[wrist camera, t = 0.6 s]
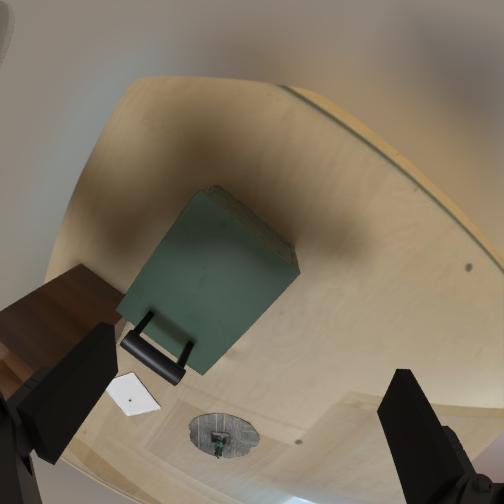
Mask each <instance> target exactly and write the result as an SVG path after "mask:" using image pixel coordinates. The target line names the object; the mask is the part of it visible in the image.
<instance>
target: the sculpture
mask: <svg viewBox="0 0 504 504" xmlns="http://www.w3.org/2000/svg"><path fill="white" fill-rule="evenodd" d="M189 429H190V430H191V433H190V439H191V441H192V442H193V444H194V445H195V446H196V447H197V448H198V449H199V450H201V451H203V452H205V453H208V454H210V455H212V456H216V457H217V458H218V459H219V457H224V458H235V457H240V456H244V455H246V454H248V453H249V451H250V448H251V447H255V446H257V445H258V443H259V435H258V434H257V432H256V431H255V430H254V429H253V427H252V426H251V425H250V424H249V423H247V422H245V421H243V420H242V419H239V418H236V417H233V416H231V415H227V414H220V413H213V414H207V415H202V416H200V417H197V418H194V419H193V421H192V422H191V424H190V425H189Z"/></svg>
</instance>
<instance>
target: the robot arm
mask: <svg viewBox="0 0 504 504" xmlns="http://www.w3.org/2000/svg"><path fill="white" fill-rule="evenodd" d="M117 373H118V364H117V353H116V340H115V325H112V324H108V323H104V322H100V323H98V324H97V325H96V326H95V327H94V328H93V329H92V330H91V331H90V332H89V333H88V334H87V335H86V336H85V337H84V338H83V339H82V340H81V341H80V342H79V343H78V344H77V345H76V346H75V347H74V348H73V349H72V350H71V351H70V352H69V353H68V354H67V355H66V356H65V357H64V358H63V359H62V360H61V361H60V362H59V363H58V364H57V365H56V366H55V367H54V368H50V367H48V366H45V367H43V368H41V369H39V370H37V371H35V372H34V373H33V374H32V375H31V376H30V377H29V379H27V380H26V381H25V382H24V383H23V385H21V386H20V387H19V388H18V389H17V390H16V391H15V392H14V393H13V394H12V395H11V396H10V397H9V398H8V399H7V400H6V401H5V399H4V396H3V394H2V392H1V391H0V504H42V501H41V497H40V493H39V489H38V486H37V481H36V477H35V473H34V467H33V462H32V458H31V456H30V453H31V451H32V450H33V449H35V451H36V453H37V455H38V457H39V458H41V459H43V460H45V461H47V462H49V463H51V464H53V465H55V463H56V462H57V460H58V459H59V457H60V456H61V454H62V453H63V451H64V450H65V448H66V447H67V445H68V444H69V442H70V441H71V439H72V438H73V436H74V435H75V433H76V432H77V430H78V429H79V427H80V426H81V424H82V423H83V422H84V420H85V419H86V417H87V416H88V414H89V413H90V411H91V410H92V409H93V407H94V406H95V404H96V403H97V401H98V400H99V398H100V397H101V396H102V394H103V393H104V391H105V390H106V388H107V387H108V386H109V384H110V383H111V381H112V380H113V379H114V377H115V376H116V374H117ZM377 413H378V416H379V419H380V422H381V424H382V427H383V430H384V433H385V436H386V439H387V442H388V445H389V448H390V451H391V454H392V457H393V460H394V463H395V467H396V470H397V473H398V476H399V479H400V483H401V486H402V489H403V493H404V496H405V499H406V503H407V504H504V483H492V481H491V480H490V479H489V477H487V476H485V475H483V474H477V473H476V472H475V470H474V468H473V466H472V464H471V462H470V460H469V458H468V456H467V454H466V452H465V450H463V447H462V445H461V443H459V442H460V441H459V439H458V437H457V435H456V434H455V432H454V431H453V430H452V429H450V428H449V427H448V426H441V424H440V422H439V420H438V418H437V416H436V414H435V412H434V411H433V409H432V407H431V405H430V403H429V402H428V400H427V398H426V396H425V394H424V393H423V391H422V389H421V387H420V386H419V384H418V382H417V380H416V379H415V377H414V375H413V373H412V372H411V370H410V369H396V371H395V374H394V376H393V378H392V381H391V383H390V385H389V387H388V389H387V392H386V394H385V396H384V398H383V400H382V402H381V404H380V406H379V408H378V410H377Z"/></svg>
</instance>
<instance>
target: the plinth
mask: <svg viewBox="0 0 504 504" xmlns="http://www.w3.org/2000/svg"><path fill="white" fill-rule="evenodd" d="M123 298H124V295H123V294H122V293H120V292H119V291H117V290H116V289H115V288H113V287H112V286H110V285H109V284H108V283H106V282H105V281H104V280H102V279H101V278H99V277H98V276H97V275H95V274H94V273H93V272H91V271H90V270H89V269H87V268H86V267H85V266H83V265H82V264H79V265H78V266H76V267H74V268H72V269H70V270H69V271H67V272H65V273H63V274H62V275H60V276H58V277H57V278H55V279H53V280H51V281H50V282H48V283H46V284H45V285H43V286H41V287H39V288H38V289H36V290H35V291H33V292H31V293H29V294H28V295H26V296H25V297H23V298H21V299H20V300H18V301H17V302H15V303H13V304H11V305H10V306H8V307H7V308H5V309H4V310H2V311H0V360H2V361H3V363H4V364H5V365H6V366H7V367H8V368H9V369H10V370H11V371H12V372H13V373H14V374H15V375H16V376H17V377H18V378H19V379H20V380H21V381H22V382H23V383H24V382H25V381H26V380H27V379H29V377H30V376H31V375H32V374H33V373H34V372H35V371H37V370H39V369H41V368H43V367H45V366H48V367H50V368H54V367H55V366H56V365H57V364H58V363H59V362H60V361H61V360H62V359H63V358H64V357H65V356H66V355H67V354H68V353H69V352H70V351H71V350H72V349H73V348H74V347H75V346H76V345H77V344H78V343H79V342H80V341H81V340H82V339H83V338H84V337H85V336H86V335H87V334H88V333H89V332H90V331H91V330H92V329H93V328H94V327H95V326H96V325H97V324H98V323H100V322H104V323H108V324H112V325H115V340H116V343H117V341H118V339H119V337H120V335H121V332H122V330H123V328H124V326H125V324H126V322H127V319H126V318H125V317H123V316H122V315H121V314H120V313H119V312H117V311H116V309H117V307H118V305H119V304H120V302H121V301H122V299H123Z"/></svg>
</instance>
